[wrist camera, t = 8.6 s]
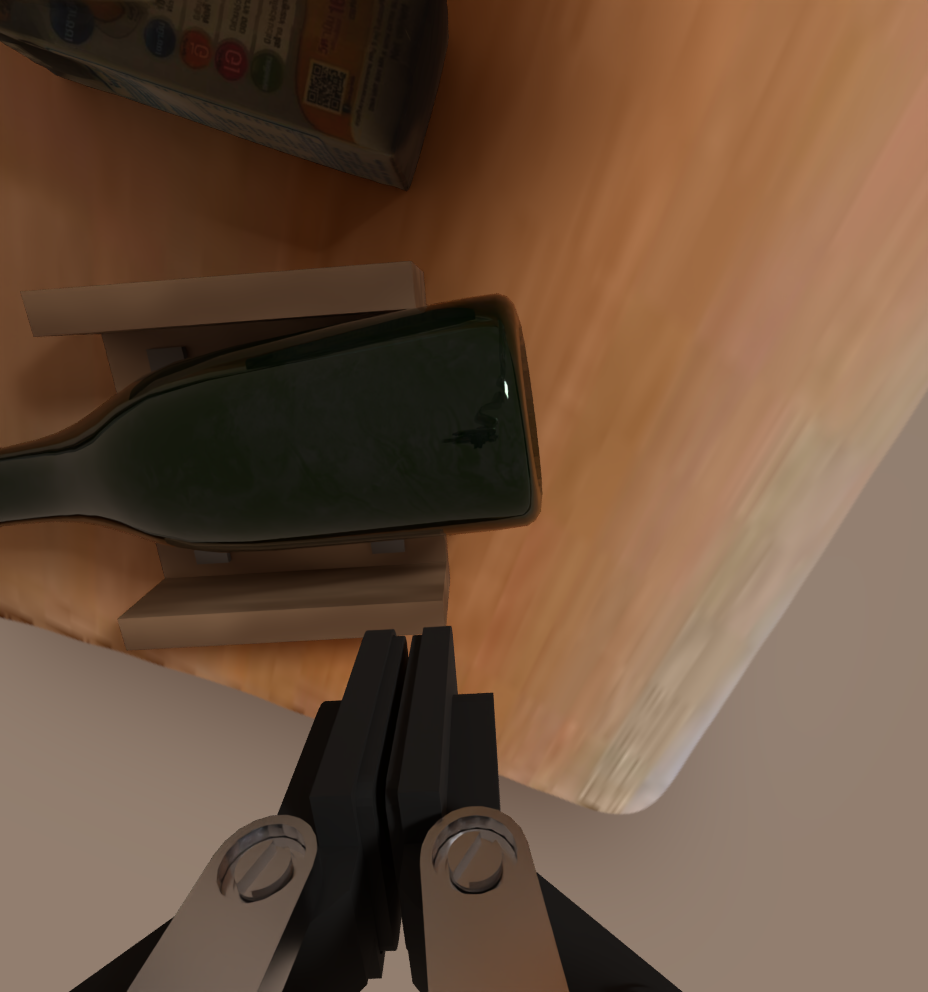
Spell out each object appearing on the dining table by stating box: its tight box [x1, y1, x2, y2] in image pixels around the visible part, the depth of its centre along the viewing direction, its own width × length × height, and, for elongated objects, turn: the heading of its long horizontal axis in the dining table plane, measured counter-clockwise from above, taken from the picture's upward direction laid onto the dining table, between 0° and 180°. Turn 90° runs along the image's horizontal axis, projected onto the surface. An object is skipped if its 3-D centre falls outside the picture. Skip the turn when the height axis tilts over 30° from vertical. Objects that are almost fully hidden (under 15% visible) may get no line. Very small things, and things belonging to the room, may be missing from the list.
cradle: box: [20, 261, 450, 650], centre depth 31 cm, size 19×18×6 cm
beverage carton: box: [0, 0, 449, 191], centre depth 25 cm, size 8×19×7 cm, turn 73°
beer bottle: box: [0, 293, 542, 553], centre depth 28 cm, size 10×10×33 cm
